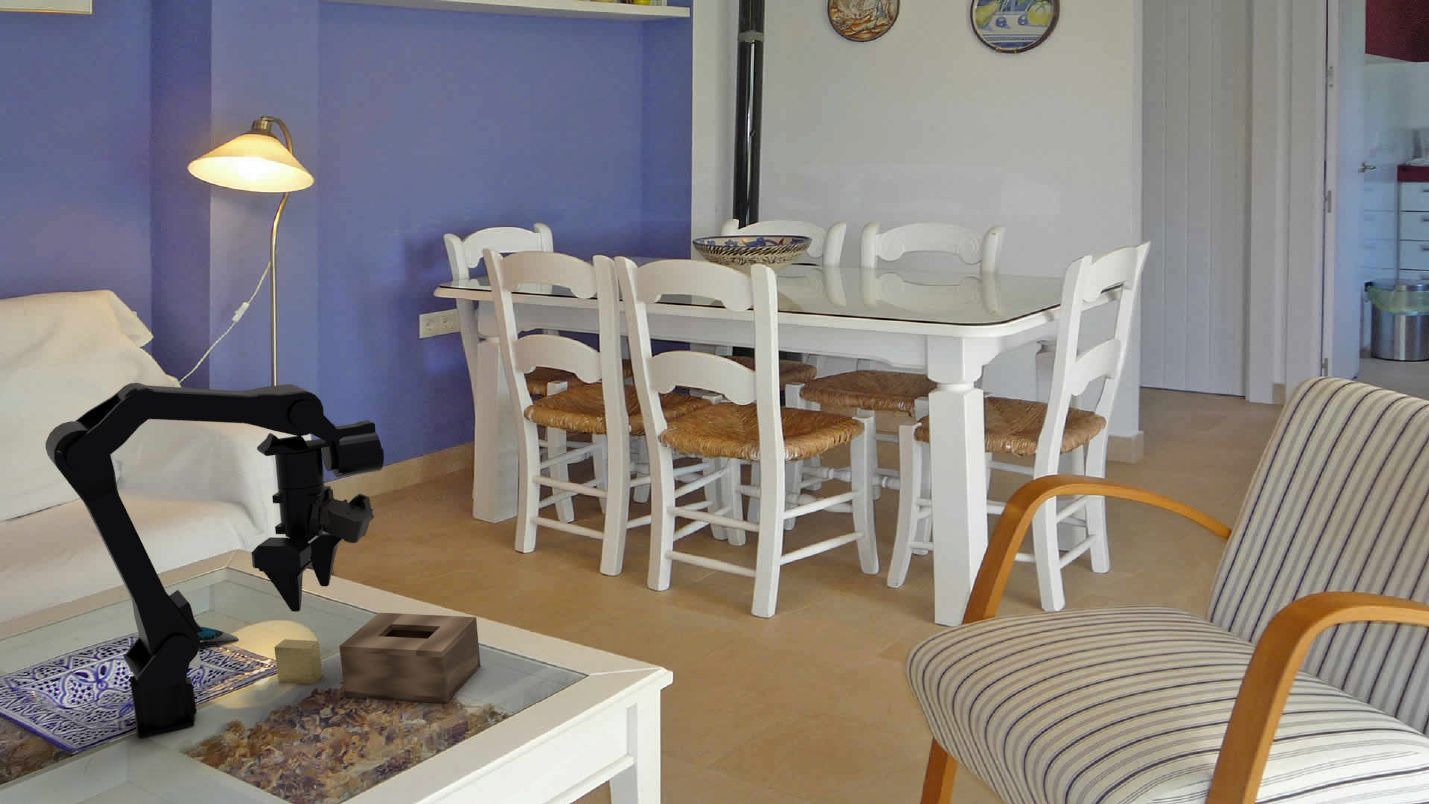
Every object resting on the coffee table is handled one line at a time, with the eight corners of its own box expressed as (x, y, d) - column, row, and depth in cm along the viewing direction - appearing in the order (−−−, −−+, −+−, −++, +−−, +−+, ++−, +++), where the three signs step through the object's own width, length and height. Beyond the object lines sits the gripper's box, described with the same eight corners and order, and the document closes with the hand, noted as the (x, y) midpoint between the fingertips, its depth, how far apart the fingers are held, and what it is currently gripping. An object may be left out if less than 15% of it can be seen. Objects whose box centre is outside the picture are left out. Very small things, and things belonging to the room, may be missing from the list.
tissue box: (345, 696, 161) (339, 646, 159) (384, 660, 171) (379, 612, 170) (446, 703, 158) (441, 651, 156) (480, 665, 168) (476, 617, 167)
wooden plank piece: (278, 682, 166) (274, 647, 165) (288, 673, 168) (284, 639, 167) (313, 684, 165) (308, 648, 164) (322, 675, 167) (318, 641, 166)
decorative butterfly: (167, 613, 182) (225, 599, 179) (183, 653, 183) (241, 640, 180) (122, 641, 172) (183, 627, 170) (139, 684, 173) (200, 670, 171)
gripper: (333, 504, 151) (342, 626, 154) (387, 465, 169) (395, 575, 172) (244, 503, 152) (255, 624, 155) (307, 464, 170) (317, 573, 174)
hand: (310, 598), depth 164 cm, fingers open, 9 cm apart
